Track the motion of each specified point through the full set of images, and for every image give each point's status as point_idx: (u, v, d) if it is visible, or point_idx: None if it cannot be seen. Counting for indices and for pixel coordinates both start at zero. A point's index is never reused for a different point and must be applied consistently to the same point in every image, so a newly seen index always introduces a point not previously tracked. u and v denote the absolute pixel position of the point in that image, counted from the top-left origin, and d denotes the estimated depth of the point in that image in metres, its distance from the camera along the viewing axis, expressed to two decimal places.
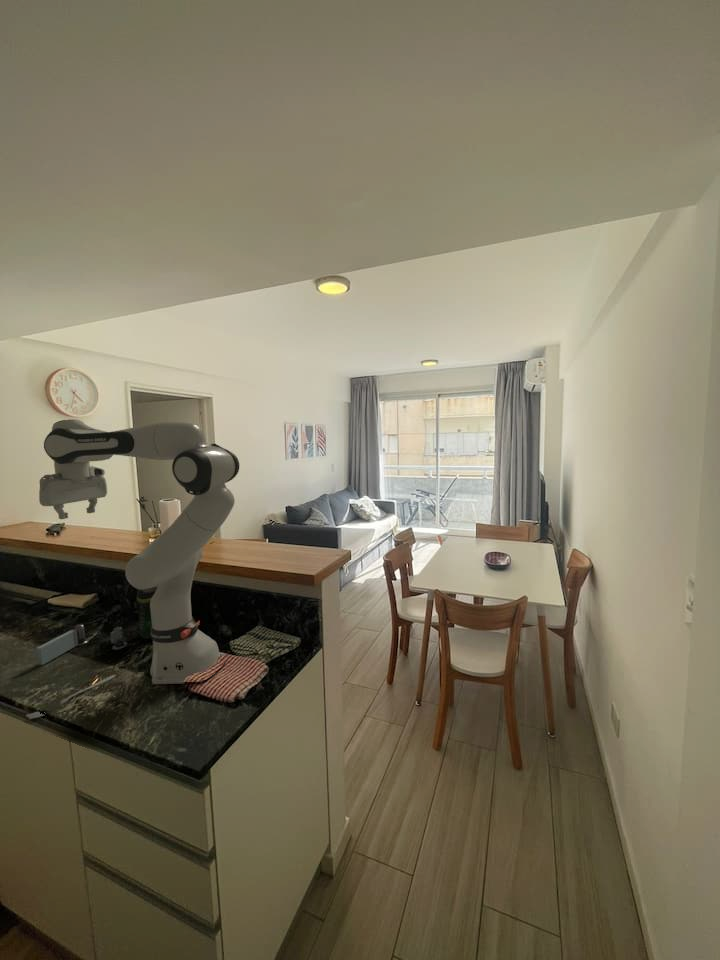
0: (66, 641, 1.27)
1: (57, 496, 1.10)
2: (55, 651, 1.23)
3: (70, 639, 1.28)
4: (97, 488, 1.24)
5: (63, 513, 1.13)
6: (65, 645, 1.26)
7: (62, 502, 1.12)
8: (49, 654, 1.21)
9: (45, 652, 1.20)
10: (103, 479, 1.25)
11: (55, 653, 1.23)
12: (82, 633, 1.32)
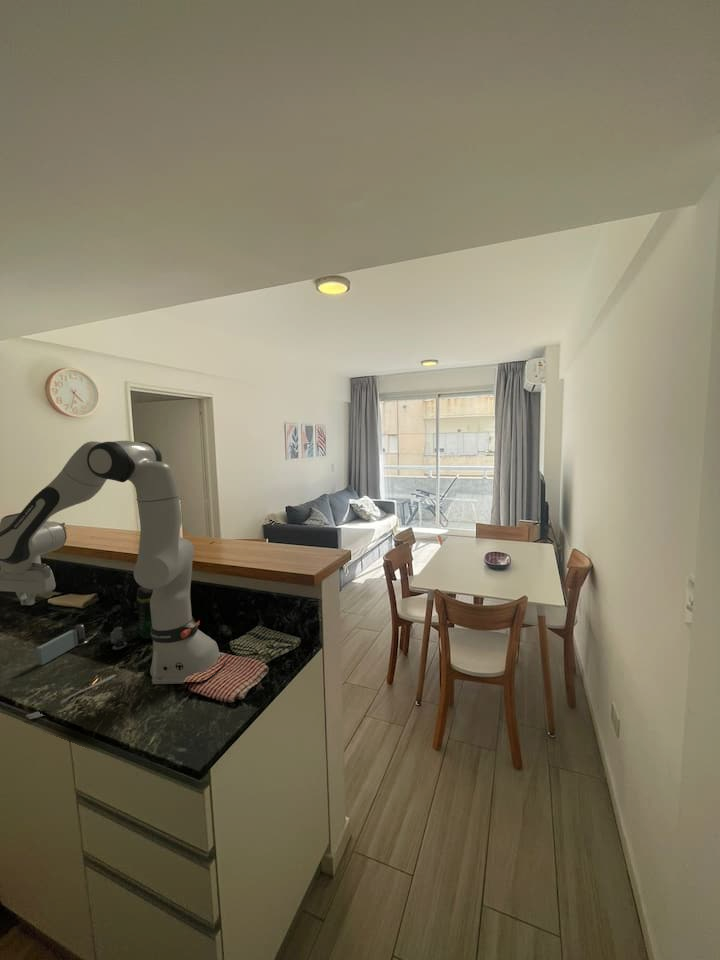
0: (66, 641, 1.27)
1: None
2: (55, 651, 1.23)
3: (70, 639, 1.28)
4: None
5: None
6: (65, 645, 1.26)
7: None
8: (49, 654, 1.21)
9: (45, 652, 1.20)
10: None
11: (55, 653, 1.23)
12: (82, 633, 1.32)
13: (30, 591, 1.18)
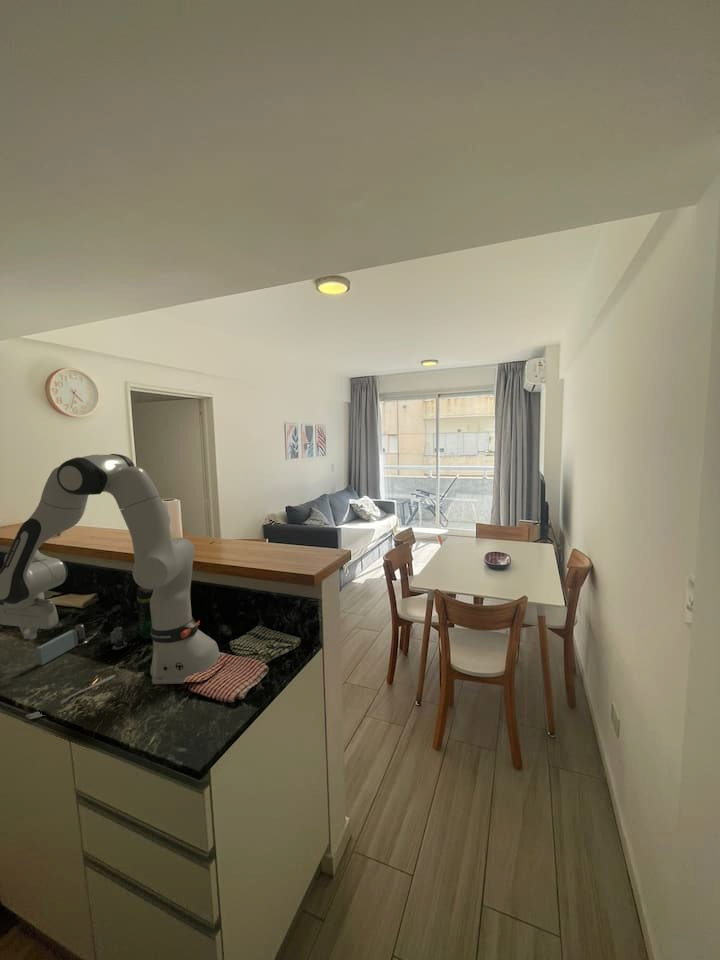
0: (66, 641, 1.27)
1: None
2: (55, 651, 1.23)
3: (70, 639, 1.28)
4: None
5: None
6: (65, 645, 1.26)
7: None
8: (49, 654, 1.21)
9: (45, 652, 1.20)
10: None
11: (55, 653, 1.23)
12: (82, 633, 1.32)
13: (33, 626, 1.19)
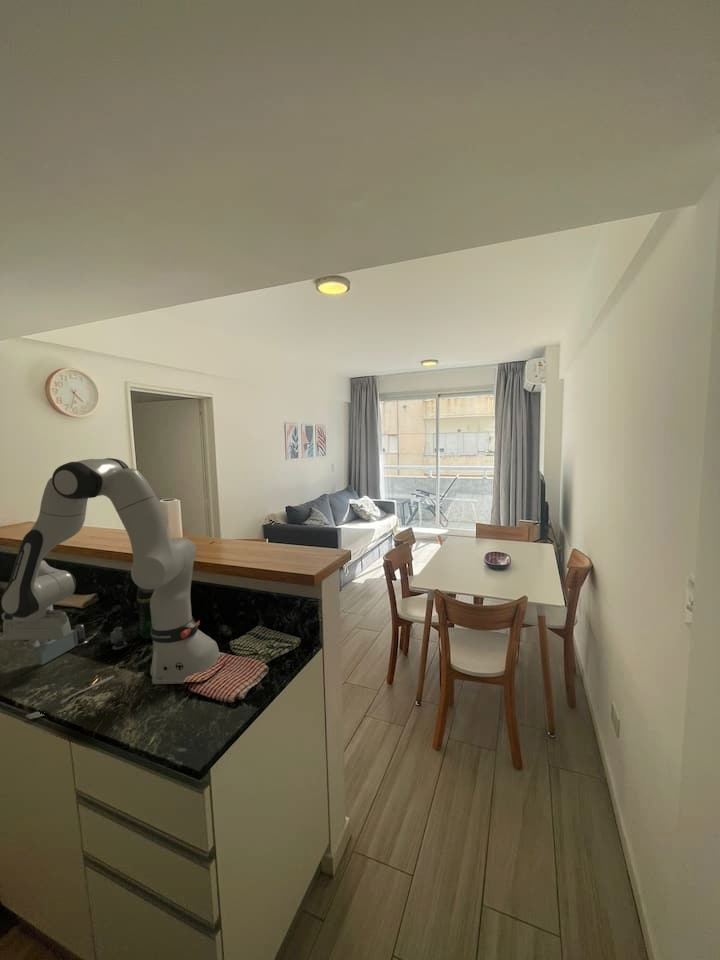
0: (66, 641, 1.27)
1: None
2: (55, 651, 1.23)
3: (70, 639, 1.28)
4: None
5: None
6: (65, 645, 1.26)
7: None
8: (49, 654, 1.21)
9: (45, 652, 1.20)
10: None
11: (55, 653, 1.23)
12: (82, 633, 1.32)
13: (45, 638, 1.20)
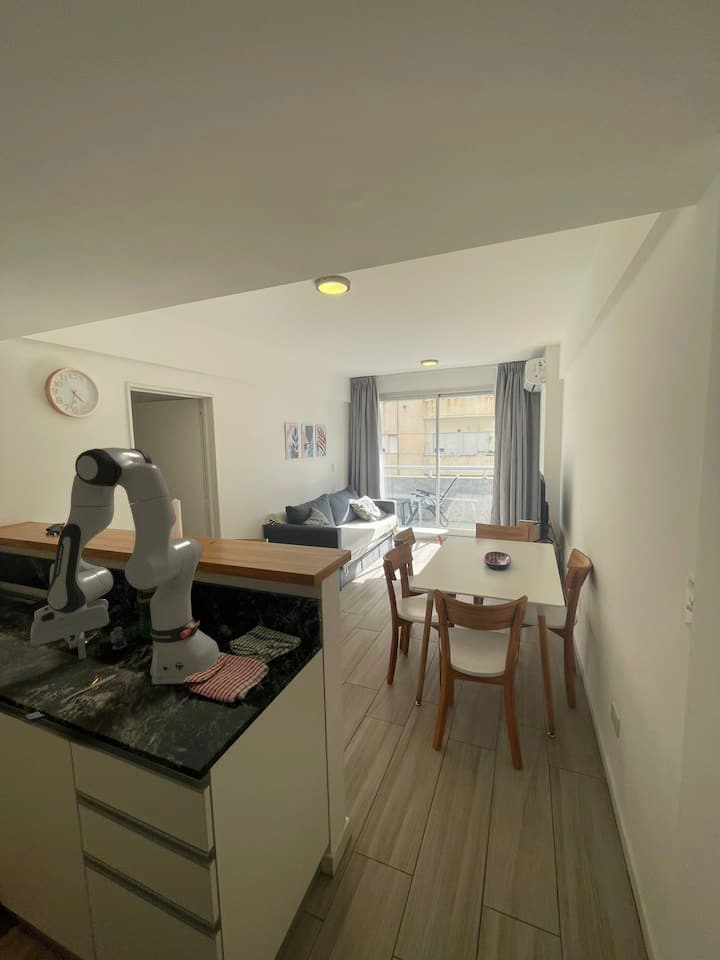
0: None
1: None
2: None
3: None
4: None
5: None
6: (84, 641, 1.28)
7: None
8: None
9: (84, 646, 1.23)
10: None
11: None
12: None
13: (88, 629, 1.24)
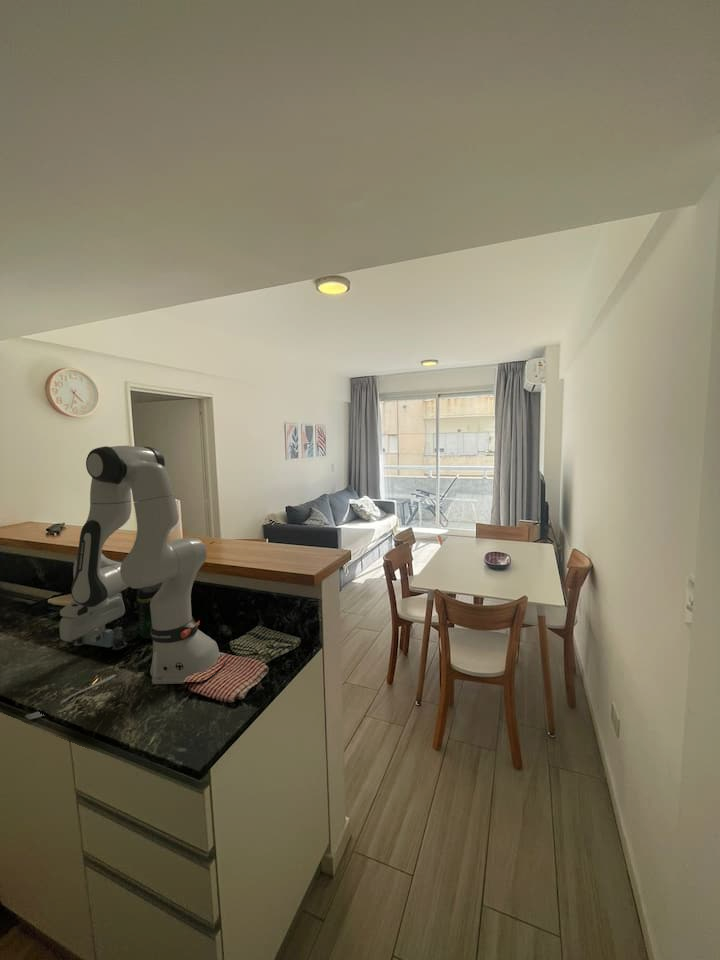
0: None
1: None
2: None
3: None
4: None
5: None
6: None
7: None
8: None
9: None
10: None
11: None
12: None
13: (110, 620, 1.30)
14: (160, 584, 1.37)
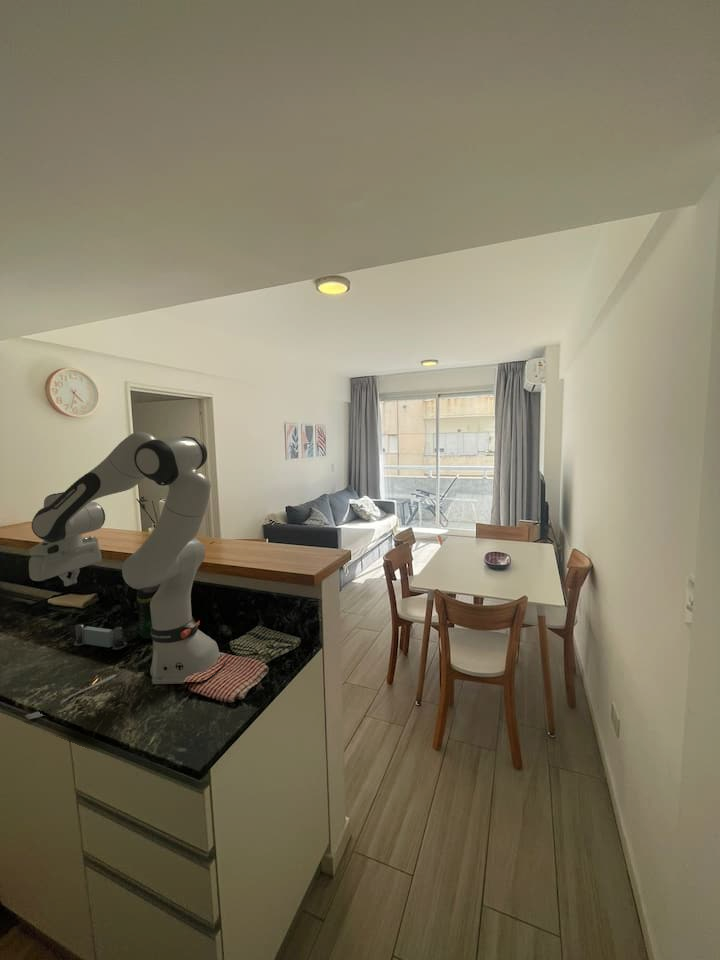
0: None
1: None
2: None
3: None
4: None
5: None
6: None
7: None
8: None
9: None
10: None
11: None
12: None
13: (85, 564, 1.24)
14: (160, 584, 1.37)
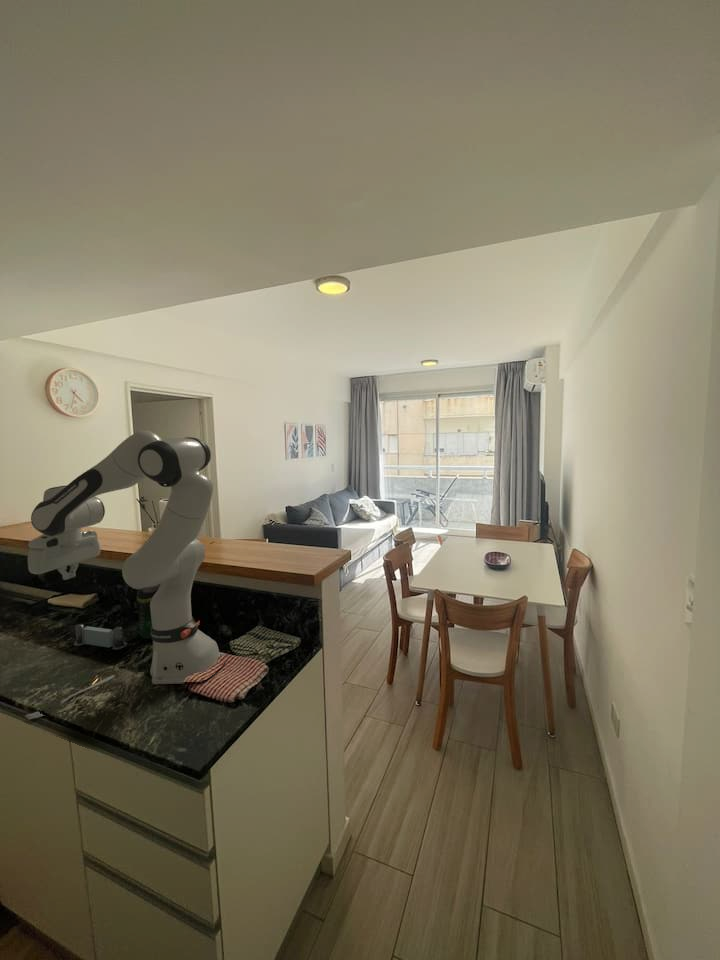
0: None
1: None
2: None
3: None
4: None
5: None
6: None
7: None
8: None
9: None
10: None
11: None
12: None
13: (84, 558, 1.24)
14: (160, 584, 1.37)
